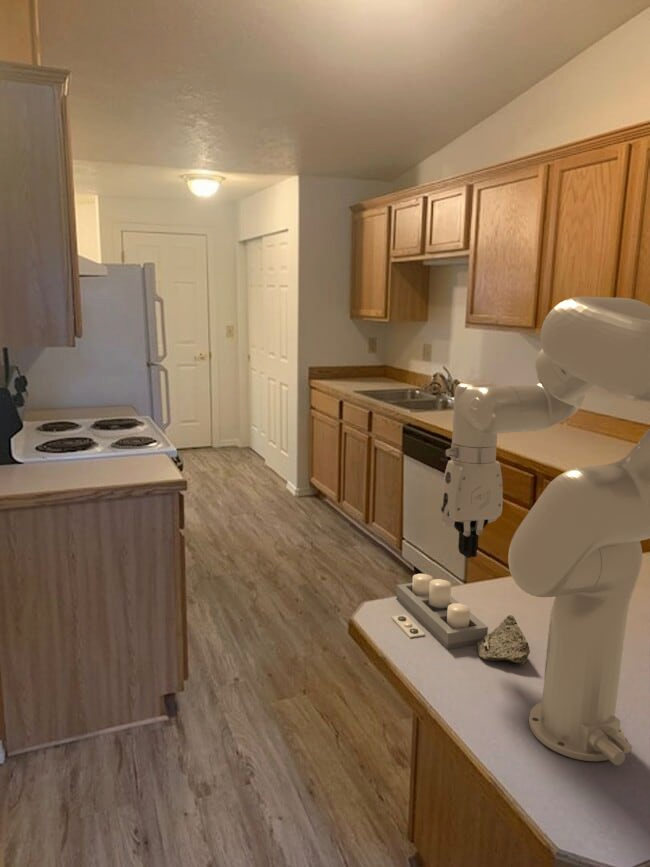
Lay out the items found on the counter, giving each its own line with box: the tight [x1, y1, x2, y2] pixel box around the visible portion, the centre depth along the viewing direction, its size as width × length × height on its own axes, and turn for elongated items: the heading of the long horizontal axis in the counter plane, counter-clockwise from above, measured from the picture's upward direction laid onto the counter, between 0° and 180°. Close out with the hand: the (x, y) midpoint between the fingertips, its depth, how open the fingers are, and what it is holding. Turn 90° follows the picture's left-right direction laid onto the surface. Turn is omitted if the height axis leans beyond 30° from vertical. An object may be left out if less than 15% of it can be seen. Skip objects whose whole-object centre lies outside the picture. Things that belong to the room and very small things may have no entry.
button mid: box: [429, 578, 452, 608], centre depth 123 cm, size 4×4×4 cm
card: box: [391, 614, 426, 639], centre depth 121 cm, size 8×3×1 cm, turn 19°
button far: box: [411, 573, 434, 596], centre depth 130 cm, size 4×4×4 cm
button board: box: [395, 582, 489, 650], centre depth 124 cm, size 21×8×3 cm, turn 19°
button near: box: [447, 602, 471, 630], centre depth 117 cm, size 4×4×4 cm
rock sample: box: [476, 614, 531, 665], centre depth 111 cm, size 10×8×9 cm
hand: (467, 554), depth 115 cm, fingers closed
